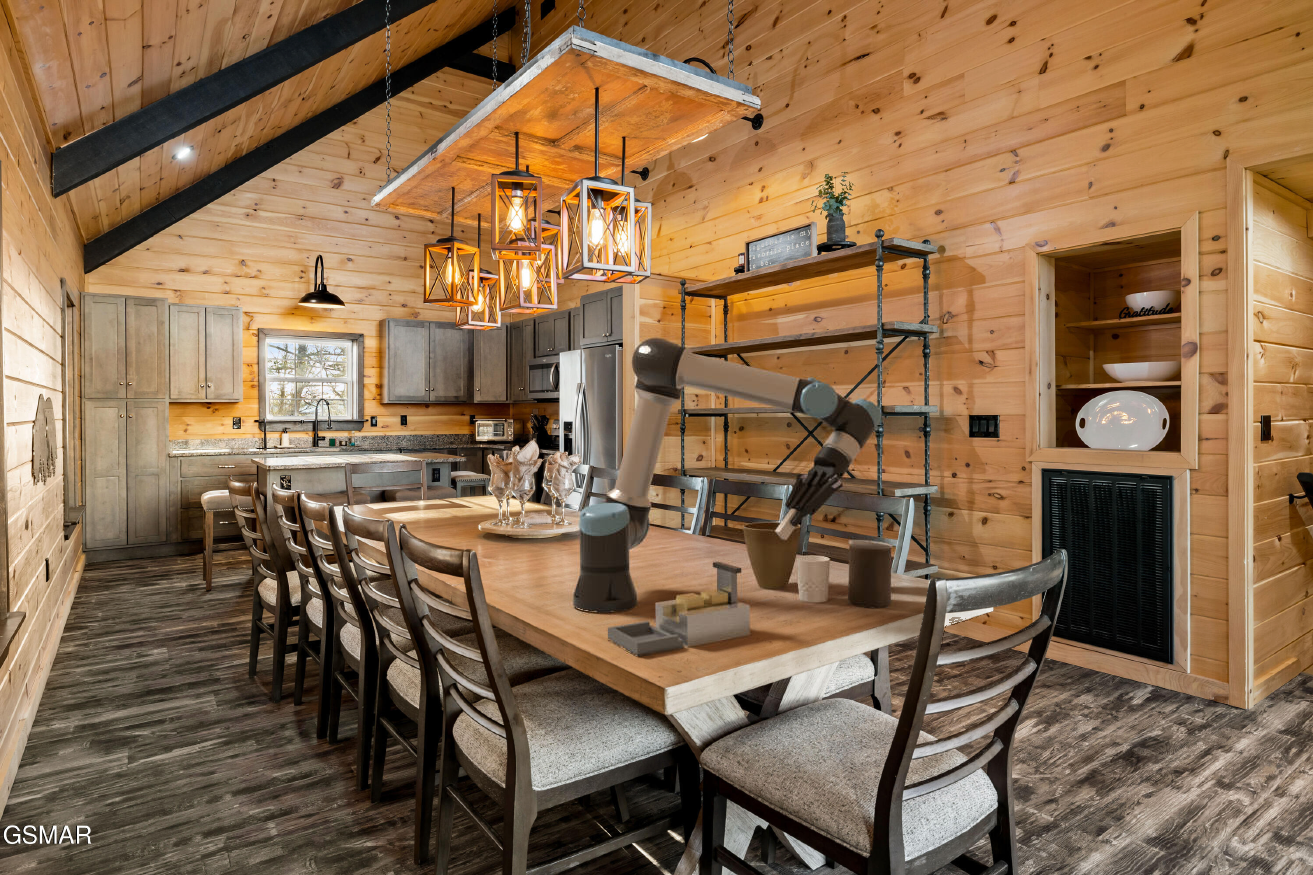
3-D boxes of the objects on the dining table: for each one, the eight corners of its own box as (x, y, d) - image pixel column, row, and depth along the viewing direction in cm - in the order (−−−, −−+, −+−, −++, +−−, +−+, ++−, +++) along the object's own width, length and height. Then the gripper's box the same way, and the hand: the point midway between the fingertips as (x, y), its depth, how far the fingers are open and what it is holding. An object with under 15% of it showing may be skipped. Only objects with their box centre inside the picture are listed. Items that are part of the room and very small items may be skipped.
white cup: (830, 604, 171) (830, 561, 171) (796, 602, 172) (796, 560, 172) (829, 596, 179) (829, 555, 178) (796, 595, 180) (796, 554, 180)
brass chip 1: (692, 612, 149) (692, 592, 149) (703, 616, 146) (703, 596, 146) (676, 614, 147) (676, 595, 147) (687, 619, 144) (687, 599, 144)
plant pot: (793, 579, 198) (792, 520, 197) (807, 592, 183) (807, 528, 183) (738, 580, 197) (738, 521, 197) (748, 593, 182) (748, 529, 182)
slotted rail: (715, 621, 157) (715, 593, 157) (749, 634, 147) (749, 605, 147) (655, 631, 150) (655, 602, 149) (687, 647, 139) (687, 615, 139)
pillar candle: (866, 609, 165) (867, 544, 165) (839, 600, 174) (840, 537, 174) (900, 605, 169) (901, 541, 169) (872, 596, 178) (872, 535, 178)
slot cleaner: (718, 603, 155) (718, 561, 155) (741, 611, 148) (741, 567, 148) (713, 604, 154) (712, 562, 154) (735, 612, 147) (735, 568, 147)
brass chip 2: (716, 608, 152) (716, 589, 152) (727, 612, 149) (727, 593, 149) (700, 610, 150) (700, 591, 150) (711, 615, 147) (711, 595, 147)
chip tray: (651, 632, 149) (651, 620, 149) (683, 647, 139) (682, 634, 139) (607, 640, 144) (607, 627, 144) (637, 656, 134) (637, 643, 134)
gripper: (866, 468, 162) (810, 550, 154) (824, 465, 173) (770, 542, 165) (848, 445, 159) (791, 528, 151) (807, 444, 170) (752, 521, 162)
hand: (780, 535), depth 158 cm, fingers closed
